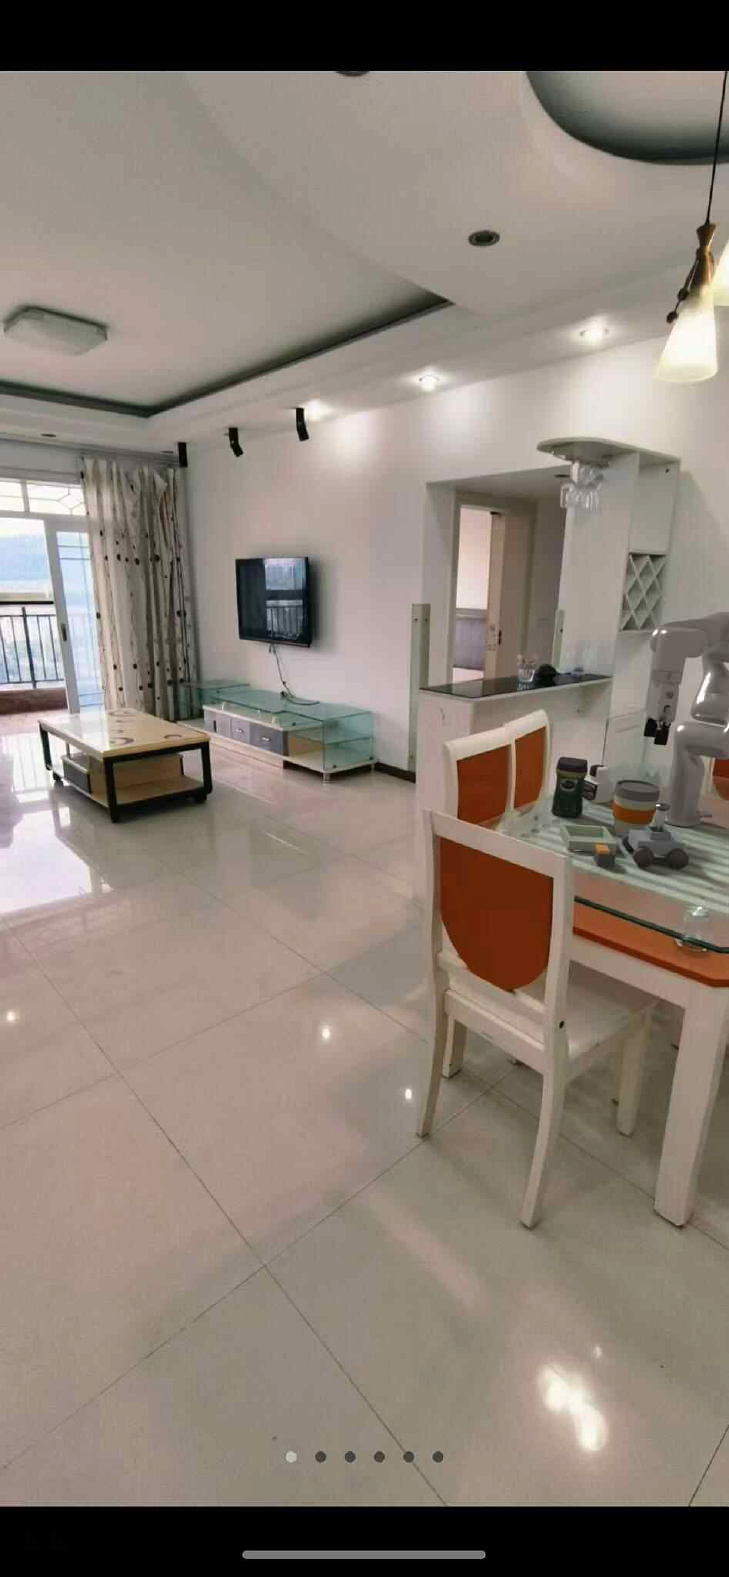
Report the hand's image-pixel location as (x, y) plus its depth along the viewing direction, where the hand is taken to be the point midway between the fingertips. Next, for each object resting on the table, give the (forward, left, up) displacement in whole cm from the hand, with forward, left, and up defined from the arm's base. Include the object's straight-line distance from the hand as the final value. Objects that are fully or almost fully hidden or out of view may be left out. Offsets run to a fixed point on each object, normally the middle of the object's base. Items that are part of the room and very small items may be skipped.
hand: (654, 740), depth 180 cm
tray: (+14, 0, -31) cm, 34 cm away
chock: (+12, +13, -31) cm, 36 cm away
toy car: (-2, +8, -31) cm, 32 cm away
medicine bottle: (+2, -40, -31) cm, 51 cm away
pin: (-2, +8, -25) cm, 26 cm away
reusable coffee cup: (-1, -10, -31) cm, 33 cm away
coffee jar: (+15, -24, -31) cm, 42 cm away
